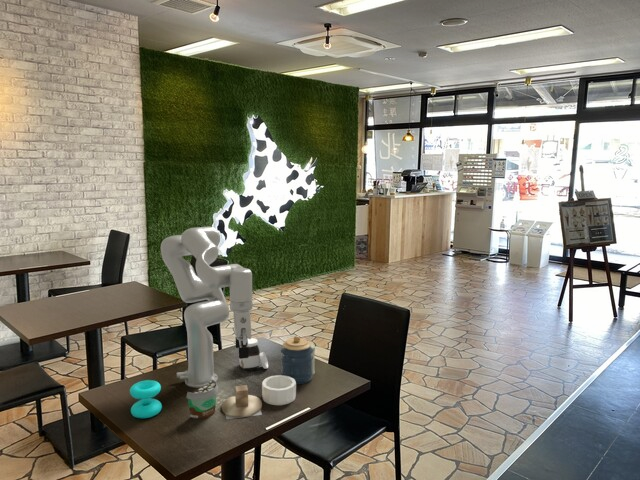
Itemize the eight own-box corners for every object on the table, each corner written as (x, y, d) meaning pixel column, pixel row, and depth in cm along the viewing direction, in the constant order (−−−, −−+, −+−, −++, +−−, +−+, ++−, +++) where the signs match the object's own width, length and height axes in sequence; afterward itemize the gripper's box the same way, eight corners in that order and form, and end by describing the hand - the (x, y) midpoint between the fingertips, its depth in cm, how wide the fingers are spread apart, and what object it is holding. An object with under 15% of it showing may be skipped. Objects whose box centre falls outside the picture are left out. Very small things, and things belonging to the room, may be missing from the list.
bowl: (265, 407, 169) (265, 391, 168) (260, 392, 180) (260, 377, 179) (298, 403, 172) (298, 388, 171) (291, 388, 183) (291, 373, 182)
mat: (226, 420, 160) (226, 419, 160) (223, 400, 174) (223, 399, 173) (262, 415, 163) (262, 414, 163) (256, 396, 177) (256, 395, 177)
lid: (223, 419, 160) (222, 400, 159) (220, 399, 173) (219, 381, 172) (264, 414, 164) (264, 395, 163) (258, 395, 177) (258, 377, 176)
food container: (200, 426, 157) (199, 397, 155) (187, 420, 160) (186, 392, 158) (226, 410, 167) (225, 383, 165) (213, 405, 170) (212, 378, 169)
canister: (309, 386, 185) (309, 343, 182) (276, 383, 187) (276, 340, 185) (315, 372, 198) (315, 331, 195) (284, 369, 200) (284, 329, 197)
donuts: (164, 386, 162) (134, 394, 156) (165, 414, 164) (135, 423, 158) (155, 376, 170) (126, 383, 164) (156, 402, 172) (127, 410, 166)
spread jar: (237, 364, 205) (236, 338, 203) (262, 359, 210) (262, 334, 208) (246, 375, 194) (245, 348, 193) (272, 370, 200) (272, 343, 198)
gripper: (256, 311, 156) (256, 361, 158) (248, 297, 172) (249, 342, 175) (232, 313, 153) (233, 363, 156) (227, 298, 170) (228, 344, 172)
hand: (242, 352), depth 165 cm, fingers open, 9 cm apart
